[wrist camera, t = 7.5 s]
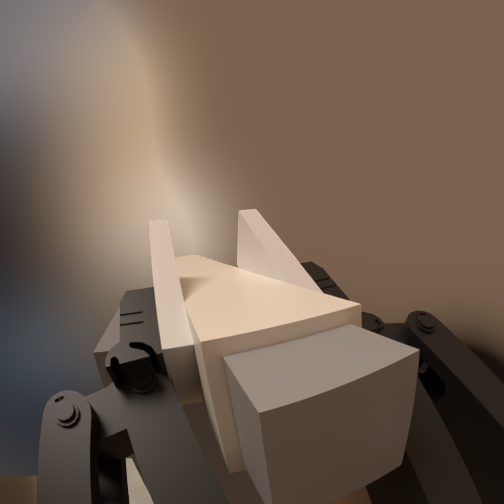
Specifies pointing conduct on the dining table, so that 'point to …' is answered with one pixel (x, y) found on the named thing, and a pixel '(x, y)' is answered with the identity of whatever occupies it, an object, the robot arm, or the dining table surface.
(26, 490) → the dining table surface
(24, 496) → the dining table surface
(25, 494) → the dining table surface
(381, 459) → the beige square bar
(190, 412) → the stand
